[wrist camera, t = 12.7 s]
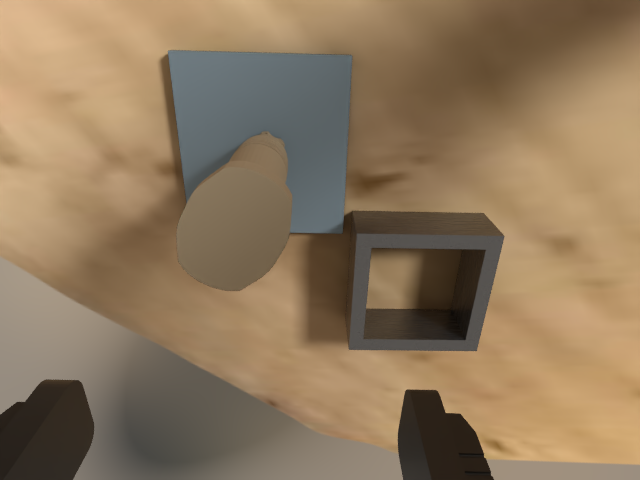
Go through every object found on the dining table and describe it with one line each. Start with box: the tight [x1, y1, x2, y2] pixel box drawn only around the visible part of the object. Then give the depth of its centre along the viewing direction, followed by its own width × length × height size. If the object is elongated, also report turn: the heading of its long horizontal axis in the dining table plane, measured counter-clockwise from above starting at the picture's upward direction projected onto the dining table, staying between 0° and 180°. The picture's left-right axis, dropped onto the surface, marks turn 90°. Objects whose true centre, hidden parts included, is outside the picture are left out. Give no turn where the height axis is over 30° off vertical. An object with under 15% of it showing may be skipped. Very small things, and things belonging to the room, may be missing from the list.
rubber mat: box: [168, 50, 352, 234], centre depth 34 cm, size 14×13×1 cm
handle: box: [176, 131, 292, 291], centre depth 26 cm, size 5×6×15 cm
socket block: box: [345, 211, 504, 351], centre depth 37 cm, size 11×11×4 cm
